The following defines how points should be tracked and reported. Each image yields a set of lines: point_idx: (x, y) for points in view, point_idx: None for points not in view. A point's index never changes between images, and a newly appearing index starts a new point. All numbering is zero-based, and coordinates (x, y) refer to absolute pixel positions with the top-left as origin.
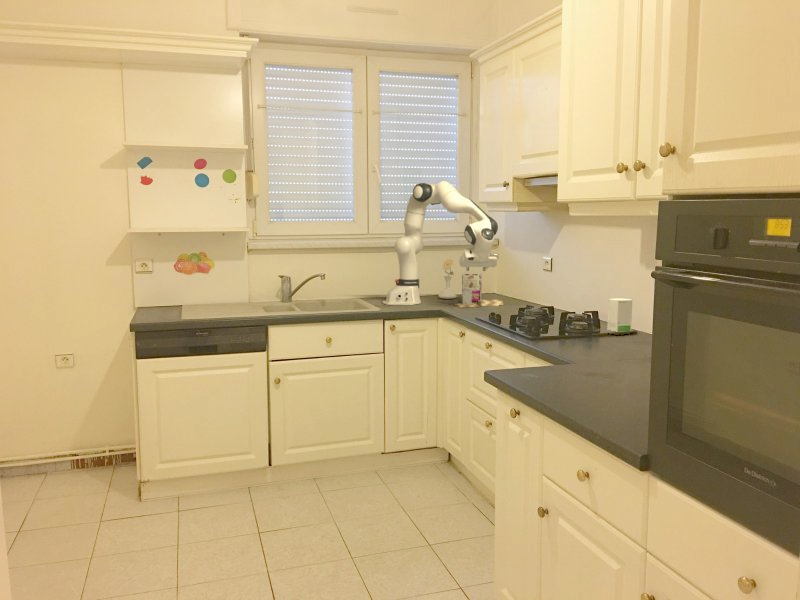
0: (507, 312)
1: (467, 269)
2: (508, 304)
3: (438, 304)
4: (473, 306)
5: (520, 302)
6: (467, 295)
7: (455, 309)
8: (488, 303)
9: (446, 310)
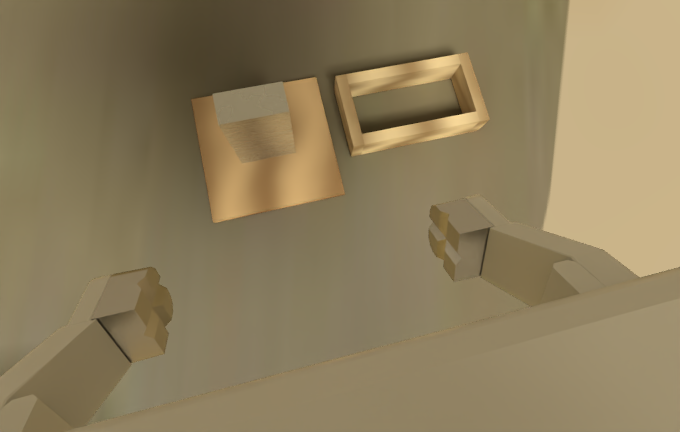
0: None
1: (124, 359)
2: (506, 82)
3: (93, 108)
4: (305, 202)
5: (567, 4)
6: (259, 133)
7: (184, 323)
8: (398, 142)
9: None
